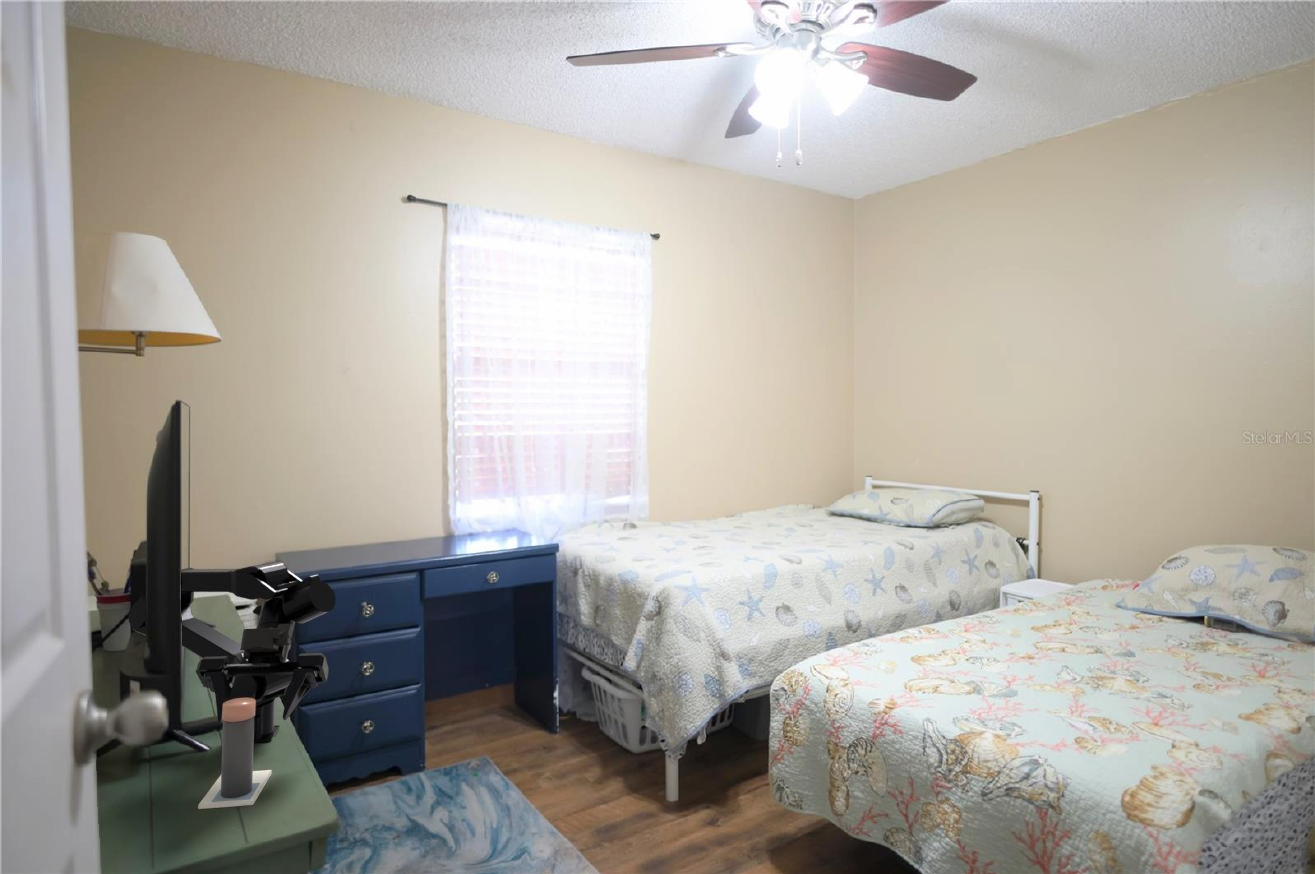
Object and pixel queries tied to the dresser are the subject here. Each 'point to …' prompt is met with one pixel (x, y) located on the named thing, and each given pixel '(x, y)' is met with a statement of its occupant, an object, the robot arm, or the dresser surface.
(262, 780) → the notepad
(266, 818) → the dresser surface
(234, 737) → the bottle
